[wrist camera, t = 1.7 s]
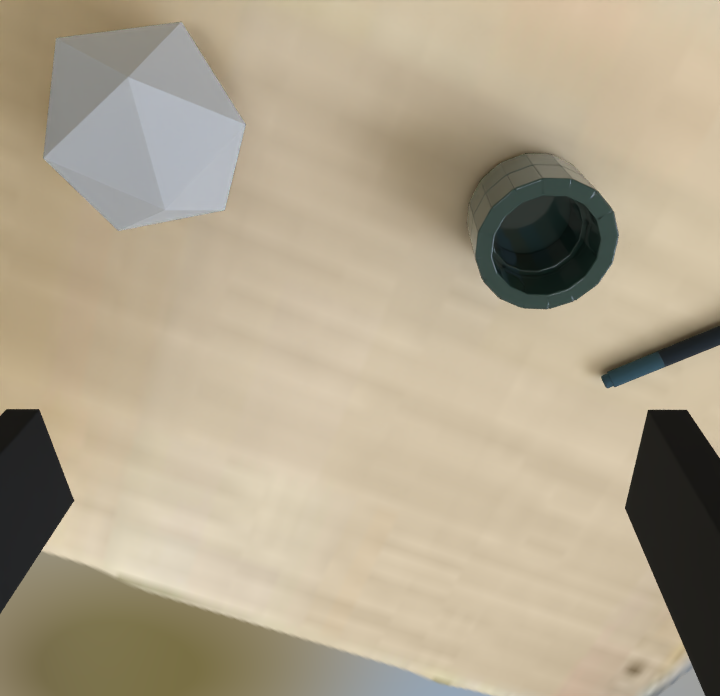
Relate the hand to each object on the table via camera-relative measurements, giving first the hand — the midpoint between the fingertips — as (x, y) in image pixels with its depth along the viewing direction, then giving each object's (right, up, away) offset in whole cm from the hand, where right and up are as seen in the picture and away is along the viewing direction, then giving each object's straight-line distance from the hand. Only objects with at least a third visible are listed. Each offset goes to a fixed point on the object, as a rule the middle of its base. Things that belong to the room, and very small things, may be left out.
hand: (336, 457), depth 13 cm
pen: (+22, +4, +22) cm, 31 cm away
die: (-9, +15, +18) cm, 25 cm away
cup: (+10, +10, +19) cm, 24 cm away
